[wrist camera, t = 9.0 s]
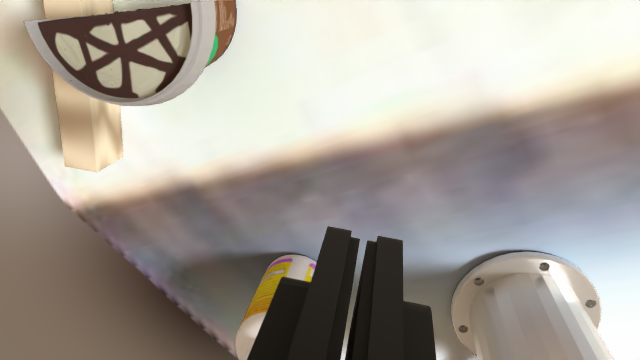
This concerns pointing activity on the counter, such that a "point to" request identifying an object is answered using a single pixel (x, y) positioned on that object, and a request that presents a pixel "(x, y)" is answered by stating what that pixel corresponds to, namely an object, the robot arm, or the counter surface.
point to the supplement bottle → (269, 297)
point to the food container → (136, 49)
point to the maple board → (85, 105)
